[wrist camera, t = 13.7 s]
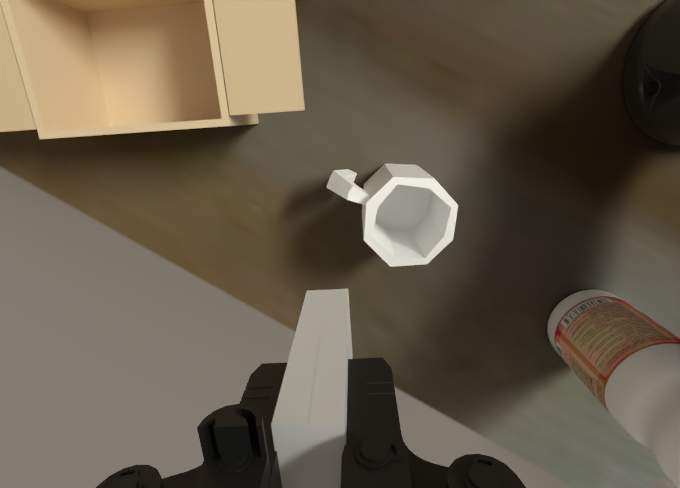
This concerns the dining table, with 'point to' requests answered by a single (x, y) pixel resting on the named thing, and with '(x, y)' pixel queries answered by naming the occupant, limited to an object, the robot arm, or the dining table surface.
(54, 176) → the dining table surface
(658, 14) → the robot arm
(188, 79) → the carton
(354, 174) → the mug
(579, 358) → the fruit juice
